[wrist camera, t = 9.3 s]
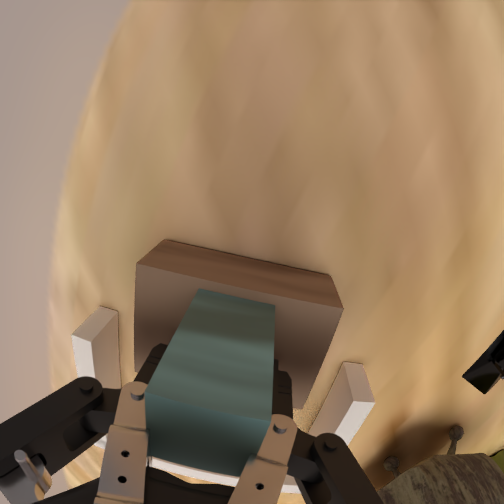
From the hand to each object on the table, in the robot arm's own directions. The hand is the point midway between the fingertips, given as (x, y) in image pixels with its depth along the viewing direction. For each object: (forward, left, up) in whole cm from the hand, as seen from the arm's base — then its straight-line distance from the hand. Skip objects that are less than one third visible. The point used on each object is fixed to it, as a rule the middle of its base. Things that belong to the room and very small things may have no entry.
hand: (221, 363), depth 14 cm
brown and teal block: (0, 0, -5) cm, 5 cm away
